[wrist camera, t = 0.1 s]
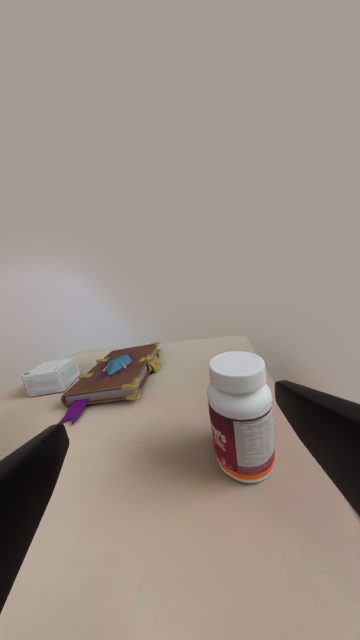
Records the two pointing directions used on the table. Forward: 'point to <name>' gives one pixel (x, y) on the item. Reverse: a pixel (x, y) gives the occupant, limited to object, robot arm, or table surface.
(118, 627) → the table surface
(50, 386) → the small box
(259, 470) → the pill bottle
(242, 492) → the table surface
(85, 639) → the table surface
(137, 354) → the book
